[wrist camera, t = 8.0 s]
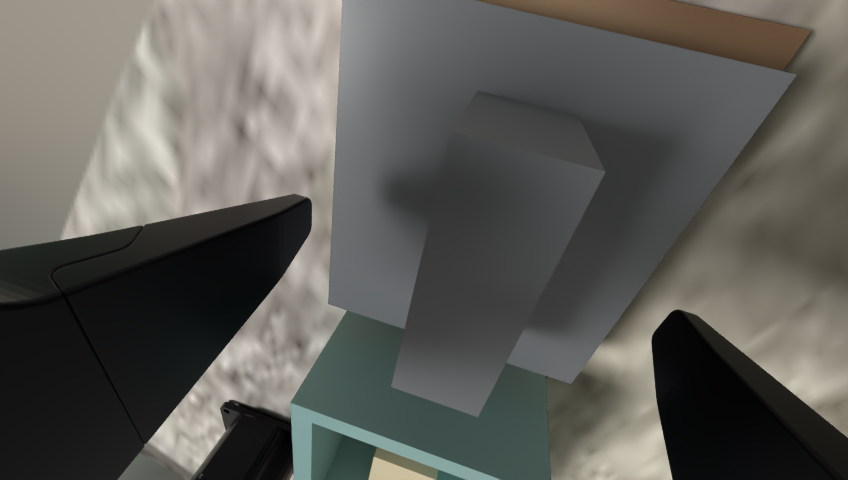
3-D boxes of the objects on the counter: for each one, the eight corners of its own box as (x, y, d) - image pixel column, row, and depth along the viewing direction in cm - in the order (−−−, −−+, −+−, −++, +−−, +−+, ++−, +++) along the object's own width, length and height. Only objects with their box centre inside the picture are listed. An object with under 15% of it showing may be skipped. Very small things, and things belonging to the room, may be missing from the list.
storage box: (482, 461, 21) (469, 580, 17) (342, 411, 22) (295, 511, 18) (545, 359, 16) (551, 498, 11) (355, 297, 17) (290, 402, 12)
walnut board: (577, 352, 15) (578, 360, 15) (336, 274, 16) (332, 280, 16) (800, 30, 8) (810, 30, 8) (358, -67, 9) (351, -70, 9)
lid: (566, 342, 14) (583, 491, 10) (349, 272, 15) (274, 381, 11) (745, 63, 8) (991, 116, 4) (376, -22, 9) (235, -56, 5)
